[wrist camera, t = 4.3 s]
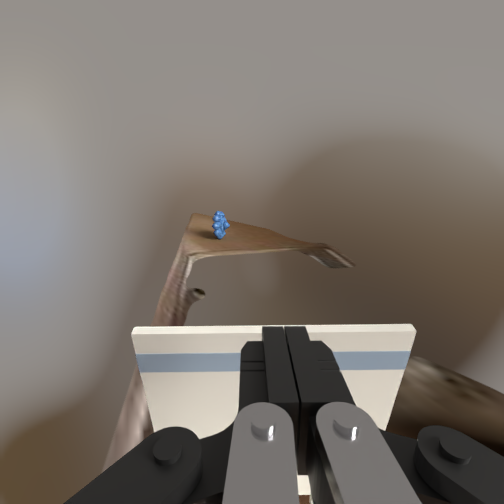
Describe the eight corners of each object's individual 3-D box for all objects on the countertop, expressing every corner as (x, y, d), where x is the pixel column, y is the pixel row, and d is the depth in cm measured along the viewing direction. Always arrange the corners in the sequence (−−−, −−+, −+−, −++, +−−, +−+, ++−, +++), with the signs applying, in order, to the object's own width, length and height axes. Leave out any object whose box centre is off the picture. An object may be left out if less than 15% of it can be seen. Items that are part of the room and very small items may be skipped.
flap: (171, 487, 21) (134, 326, 14) (362, 484, 21) (411, 323, 14) (169, 497, 20) (130, 334, 14) (365, 494, 20) (416, 331, 14)
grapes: (225, 243, 121) (224, 213, 117) (209, 242, 122) (208, 212, 119) (234, 236, 132) (233, 208, 128) (219, 235, 133) (218, 207, 130)
